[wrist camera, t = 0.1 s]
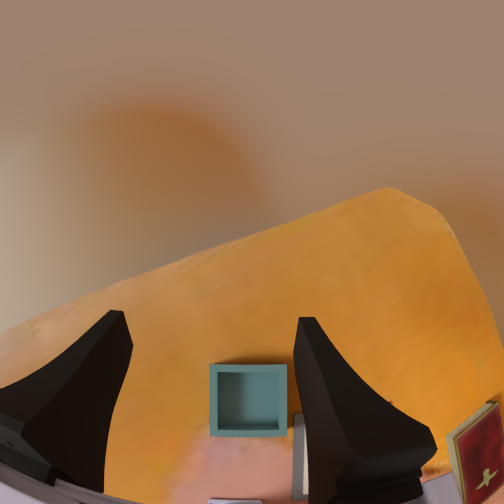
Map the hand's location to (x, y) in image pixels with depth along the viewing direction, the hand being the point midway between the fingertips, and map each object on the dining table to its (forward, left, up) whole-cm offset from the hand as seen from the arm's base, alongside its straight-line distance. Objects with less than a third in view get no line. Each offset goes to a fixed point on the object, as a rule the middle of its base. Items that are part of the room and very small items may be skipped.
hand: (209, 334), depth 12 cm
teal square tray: (-7, -2, -32) cm, 33 cm away
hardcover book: (-26, -44, -33) cm, 60 cm away
